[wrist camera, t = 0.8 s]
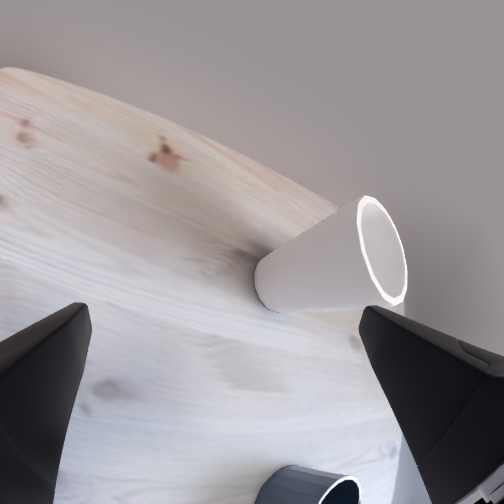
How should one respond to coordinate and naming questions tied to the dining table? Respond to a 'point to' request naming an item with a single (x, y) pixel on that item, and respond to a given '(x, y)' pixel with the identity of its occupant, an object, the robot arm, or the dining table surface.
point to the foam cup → (337, 264)
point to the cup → (309, 487)
